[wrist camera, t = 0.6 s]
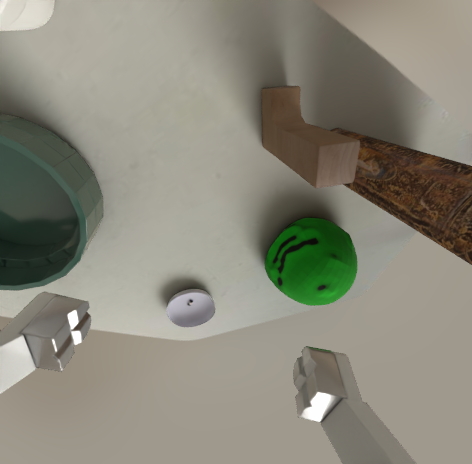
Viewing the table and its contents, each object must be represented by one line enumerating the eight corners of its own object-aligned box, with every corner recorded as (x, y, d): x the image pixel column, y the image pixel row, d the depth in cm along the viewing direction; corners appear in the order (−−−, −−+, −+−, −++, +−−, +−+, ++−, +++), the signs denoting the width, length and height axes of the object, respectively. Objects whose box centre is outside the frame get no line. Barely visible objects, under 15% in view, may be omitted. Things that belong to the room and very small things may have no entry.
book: (307, 163, 34) (510, 292, 13) (330, 123, 32) (617, 200, 11) (388, 203, 40) (618, 336, 19) (412, 171, 38) (701, 282, 17)
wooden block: (287, 144, 32) (354, 183, 20) (262, 147, 32) (315, 189, 19) (288, 85, 29) (371, 87, 16) (260, 88, 29) (323, 92, 16)
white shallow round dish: (160, 313, 43) (159, 322, 42) (177, 279, 40) (177, 287, 39) (202, 322, 46) (203, 330, 45) (222, 290, 43) (223, 299, 42)
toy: (299, 199, 37) (334, 233, 28) (356, 235, 42) (399, 272, 34) (247, 265, 41) (265, 312, 33) (305, 290, 47) (332, 336, 38)
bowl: (-68, 73, 23) (-155, 69, 17) (124, 162, 30) (110, 182, 24) (-81, 223, 29) (-147, 259, 23) (82, 269, 36) (62, 306, 30)
